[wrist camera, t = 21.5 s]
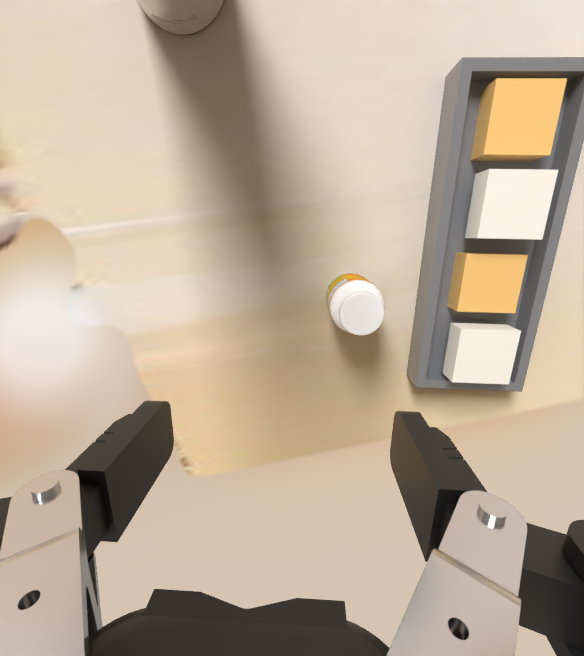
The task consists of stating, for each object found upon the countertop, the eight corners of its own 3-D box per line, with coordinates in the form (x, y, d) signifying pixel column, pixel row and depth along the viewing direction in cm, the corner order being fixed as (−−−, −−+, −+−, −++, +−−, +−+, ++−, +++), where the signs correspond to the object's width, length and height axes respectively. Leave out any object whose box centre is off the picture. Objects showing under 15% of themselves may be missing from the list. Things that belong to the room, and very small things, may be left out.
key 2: (475, 174, 31) (489, 168, 28) (538, 174, 31) (558, 169, 28) (464, 238, 33) (477, 238, 30) (524, 239, 32) (542, 239, 30)
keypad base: (445, 76, 31) (462, 57, 28) (571, 76, 31) (603, 57, 27) (406, 374, 40) (415, 387, 37) (503, 378, 40) (521, 391, 36)
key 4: (450, 322, 35) (461, 329, 33) (506, 324, 35) (521, 330, 32) (442, 372, 37) (451, 382, 34) (495, 374, 36) (508, 384, 34)
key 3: (455, 252, 34) (466, 253, 32) (512, 253, 34) (528, 255, 32) (447, 306, 36) (457, 311, 34) (501, 308, 36) (515, 313, 33)
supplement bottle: (381, 294, 38) (405, 313, 28) (348, 326, 39) (361, 354, 30) (349, 262, 37) (363, 271, 27) (316, 296, 38) (319, 315, 29)
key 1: (481, 90, 30) (496, 78, 28) (546, 91, 30) (567, 78, 28) (470, 160, 32) (483, 154, 30) (531, 161, 32) (550, 155, 29)
